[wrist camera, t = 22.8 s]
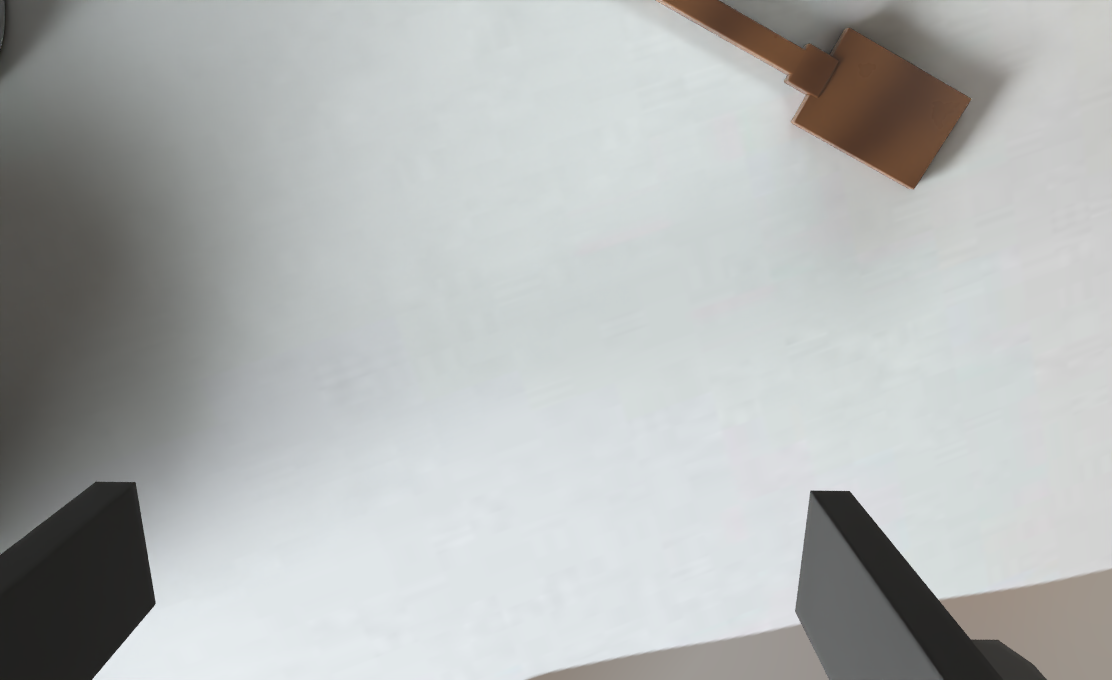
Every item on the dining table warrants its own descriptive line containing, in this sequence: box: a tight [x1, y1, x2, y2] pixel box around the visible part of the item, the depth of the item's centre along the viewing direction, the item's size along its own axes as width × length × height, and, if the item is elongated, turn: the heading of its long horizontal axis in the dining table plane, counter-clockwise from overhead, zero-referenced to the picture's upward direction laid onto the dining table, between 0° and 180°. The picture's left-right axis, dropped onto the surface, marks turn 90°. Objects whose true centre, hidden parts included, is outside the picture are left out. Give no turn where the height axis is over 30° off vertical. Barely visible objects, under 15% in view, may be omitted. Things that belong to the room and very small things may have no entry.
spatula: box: [656, 0, 971, 189], centre depth 39 cm, size 21×6×1 cm, turn 63°
